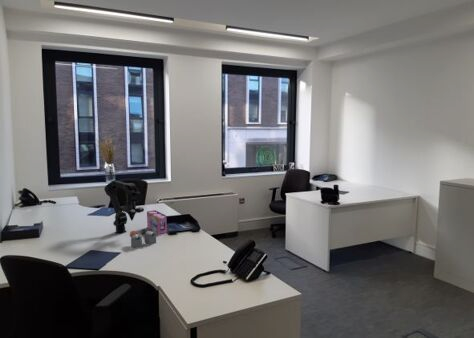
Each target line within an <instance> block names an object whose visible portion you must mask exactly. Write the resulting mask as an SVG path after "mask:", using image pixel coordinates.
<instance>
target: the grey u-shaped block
mask: <svg viewBox="0 0 474 338" xmlns="http://www.w3.org/2000/svg"><path fill="white" fill-rule="evenodd" d="M149 231H150V230H149ZM150 232H153V235H152V236H151V234H149V233H145V235H143V236H144V244H146V245H148V246H150V245H154V244H156V243H157V233H155V232H154V231H152V230H151V231H150Z"/></svg>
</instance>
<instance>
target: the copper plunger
mask: <svg viewBox="0 0 474 338" xmlns="http://www.w3.org/2000/svg"><path fill="white" fill-rule="evenodd" d="M132 235H133V236H134V237H135V238H136V239H139V236H138V232H137V231H135V230H132V231H130V232H129V237H130V238H131V236H132Z"/></svg>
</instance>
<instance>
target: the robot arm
mask: <svg viewBox="0 0 474 338" xmlns="http://www.w3.org/2000/svg"><path fill="white" fill-rule="evenodd" d="M118 188H120V189H123V191H125V192H124V194H125V195H126V202H125V204H124V205H122V206H121V205H120V202H119V199H118V197H117V189H118ZM103 189H104V192H105V194H106V195H107V196H108V197H109V199H110V202H111V204H112V207H113V210H114V212H115V215H114V221H113V226H115V232H114V234H121V235H122V234H124V233H126V232H127V230H126V226H125V225H127V224H128V223H127V222H128V216H129V220H130V221H133V220H134V218H135V216H136V214H137V213H138V214H139V213H140V214H141V213H143V212H145V211H144V207H141V206H140V207H137V205H136V203H137V202H138V203H141V202H142V201H143V199H144V197H143V195H142V194H141V192H140V191H139V189H138V187H137V186H136V184H135V183H134V182H133V183H132V182H131V183H127V182H123V181H120V180H118V179H115V180H112V181H110V182H109V183H107V184H106V185H105V186H104V188H103ZM127 215H128V216H127Z"/></svg>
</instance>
